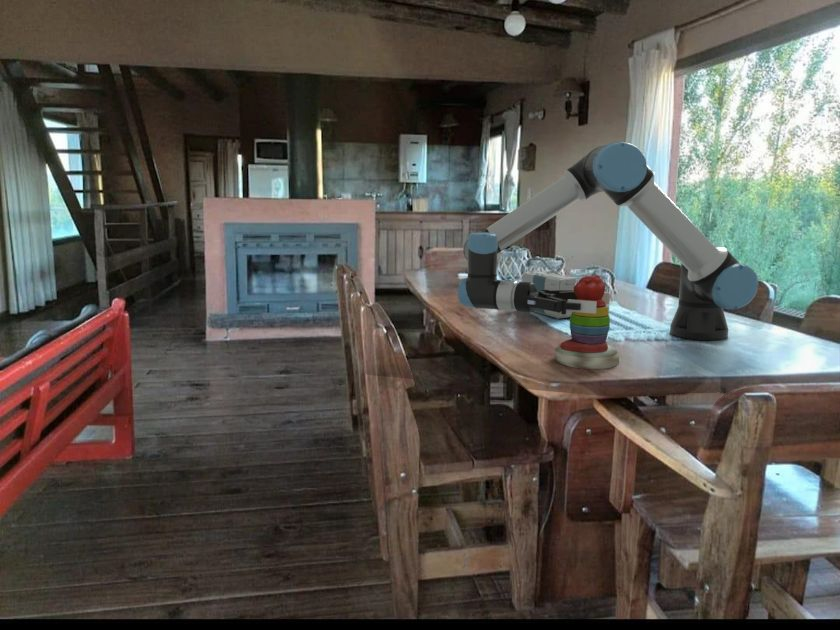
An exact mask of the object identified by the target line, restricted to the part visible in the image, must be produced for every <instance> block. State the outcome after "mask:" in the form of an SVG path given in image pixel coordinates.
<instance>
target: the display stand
mask: <svg viewBox="0 0 840 630" xmlns="http://www.w3.org/2000/svg"><path fill="white" fill-rule="evenodd" d="M560 345H561V344H559V345H558V346H556V347H555V348H554V350H555V354H554V359H555V362H556V363H558V364H560V365H561V366H562V365H563V366H565V367H570V368H576V369H583V370H603V369H611V368H615V367H617V366H618V365H619V364H620V351H619V349H618V348H616V347H614V346H612V345H609V344H607V345H608V350H607V351H605V352H600V353H582V352H573V351H567V350H563V349H561V348H560Z"/></svg>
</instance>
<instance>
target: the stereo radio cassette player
mask: <svg viewBox="0 0 840 630" xmlns="http://www.w3.org/2000/svg"><path fill="white" fill-rule="evenodd" d="M573 258H574V256H571V257H569V258H568V259H566V260H564V261H562V263H560V264H557V265H555V267H554V268H552V269H550V270H549V271H548V272H547V271H526V272H523V273H522V277H521V282H532V283H534V284H535V286H536V290H537V292H538V291H542V290H543V289H547V290H574V286H575V285H576V284H577V283H578V279H577V278H576V277H572V276H568V275H564V274H563V275H562V274H558V273H557V274H556V273H552V272H553V271H554V270H556V269H558V268H559V267H560V266H562V265H563V264H565V263H566V262H568V261H570V260H571V259H573ZM532 312H534V313H538V314H541V315H545V316H548V317H551V318H554V319H556V320H559V319H565V318H566V319H567V318H569V317H570V315H571V313H572V312H569V311H567V309H566V314H561V312H560V313H558V312H554V311H549V310H544V309H539V308H534V309H533V311H532Z"/></svg>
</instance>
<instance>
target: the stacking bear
mask: <svg viewBox="0 0 840 630" xmlns="http://www.w3.org/2000/svg"><path fill="white" fill-rule="evenodd" d="M605 291H606V284H605V282H604V280H603V279H602V278H601V277H600V275H598V274H595V275H586V276H583V277H581V278H580V279H579V280H578V281H577V282H576V284H575V286H574V292H575V294H576V296H577V297H578V299H577V300H584V301H597V306H596V314H594V313H582V312H572V313H571V315H570V318H569V330H570V337H571V338H569V339H566V340H564V341H562V342H561V343H560V344H559V345H560V348H561V349H563V350H567V351H573V352H582V353H600V352H605V351H607V350H608V345H609V344H608V343H607V338H608V333H609V332H610V328H611V325H610V324H611V318H610V317H611V316H610V315H609V314H610V312H609V308H608V304H606V303H605V302H604V301H603V300H602V297H603V295H604V293H606V292H605Z"/></svg>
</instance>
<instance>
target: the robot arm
mask: <svg viewBox="0 0 840 630" xmlns="http://www.w3.org/2000/svg"><path fill="white" fill-rule="evenodd" d="M647 163H648V162H647V158H646V157H645V154H644V152H643V151H642V150H641V149H640V148H638V147H637V146H636V145H634V144H633V143H629V142H624V141H616V142H610V143H608V144H606V145H602V146H597V147H595V148H594V149H591V150H590V151H589V152H588V153H587V154H586V155H584V156H583V157H582V158H580V159H579V160H578V161H577V162H576V163H574V164H573V165H571V166H570V167H569V168H567V169H566V170H564V173H563V176H562V177H561V178H560V179H558V180H557V181H554V182H553V183H552V184H550V185H548V186H547V187H546V188H544V189H542V190H541V191H540V192H538V193H537V194H535V195H534V196H533V197H531V198H530V199H528V200H527V201H525V202H524V203H522V204H521V205H519V206H517V207H516V208H514V209H513V210H512V211H510V212H508V213H507V214H506V215H504V216H503V217H502V218H500V219H498V220H497V221H495V222H494V223H492V224H491V225H489V226H487V228H485V229H484V230H482V231H481V232H471V233H469V234H468V237H467V240H466V241H465V243H464V245H463V250H462V251H463V255H464V258H465V259H466V261H467V276H466V278H463V279H461V281H460V282H459V284H458V289H457V298H458V302H459V304H460V305H462V306H463V307H468V308H474V309H483V310H484V309H485V310H486V309H487V310H498V311H499V310H500V311H504V313H506V314H507V313H509V311H510V312H516V311H517V312H519V313H520V312H521V313H531V312H532V313H533V312H534V311H533V309H534V308H539V309H544V310H549V311H554V312H558V313H560V312H561V314H566V309H567V311H569V312H582V313H594V314H596V306H597V301H584V300H577V299H578V297H577V296H576V294H575V292H574V290H547V289H543V290H542V291H538V292H537V290H536V286H535V284H534V283H532V282H522V281H516V280H499V279H497V276H498V273H497V272H498V271H497V269H498V254H500V253H501V252H502V251H504V250H505V249H507V248H508V247H510V246H511V245H512V244H514V243H516V242H517V241H519V240H520V239H522V238H523V237H525V236H527V235H528V234H529V233H531V232H532V231H534V230H536V229H537V228H539V227H541V226H542V225H543V224H544V223H547V222H548V221H549V220H551V219H552V218H554V217H555V216H556V215H558V214H560V213H561V212H562V211H565V210H566V209H567V208H569V207H570V206H571V205H573V204H575V203H576V202H578V201H582V202H583V201H586V200H587V199H589V198H590V197H592V196H595V195H596V194H599V193H603V192H604V193H605V194H606V196H608V197H609V198H610V199H611V200H612V202H613V203H615V205H616V206H618V207H627V208H628V209H629V211H631V212H632V214H634V216H636V218H638V220H639V221H641V223H643V225H644V226H645V227H646V228H647V229H648V230H649V231H650V232H651V233H652V234H653V235H654V236H655V237H656V239H658V240H659V241H660V242H661V243H662V245H664V247H666V249H667V250H668V251H670V253H671V254H673V256H674V257H675V258H676V259H677V260H678V261H679V262H680V267H679V268H680V273H679V275H680V276H679V288H678V289H679V290H678V291H679V293H678V304H677V305H678V306H677V309H676V311H675V313H674V316H673V318H672V320H671V323H670V326H669V327H670V328H669V333H670V334H671V335H673V336H675V337H678V338H683V339H688V340H698V341H699V340H700V341H718V340H724V339H728V336H729V326H728V323H727V320H726V319H727V318H726V316H725V311H724V310H739V309H742V308H744V307H745V306H747V305H748V304H750V303H751V302H752V301H753V299H754V298H755V296H756V295H757V294H758V293H757V292H758V287H759V278H758V277H759V276H758V275H757V273H756V272H755V270H754V269H753V268H751V267H750V266H748V265H747V264H744V263H740V262H739V260H737V258H736V257H734V255H732V253H731V252H730V251H729V250H728V249H727V248H726V247H716V246H715V245H714V244H713V243H712V241H710V239H709V238H707V236H706V235H705V234H704V233H703V232H702V231H701V230H700V229H699V228H698V227H697V226H696V225H695V224H694V223H693V221H692V220H690V218H689V217H688V216H687V215H686V214H685V213H684V212H683V211H682V210H681V209H680V208H679V207H678V206H677V204H676V203H674V201H673V200H672V199H671V198H670V197H669V196H668V195H667V194H666V193H665V192H664V191H663V189H661V188H660V187H659V185H658V184H657V183H656V182H655V172H654V171H653V170H652V169H651V168H650V166H649V165H648V164H647ZM602 300H603V301H604V302H605V303H606V305H610V304H611V303H610V301H611V292H604V295H603V297H602Z"/></svg>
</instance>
